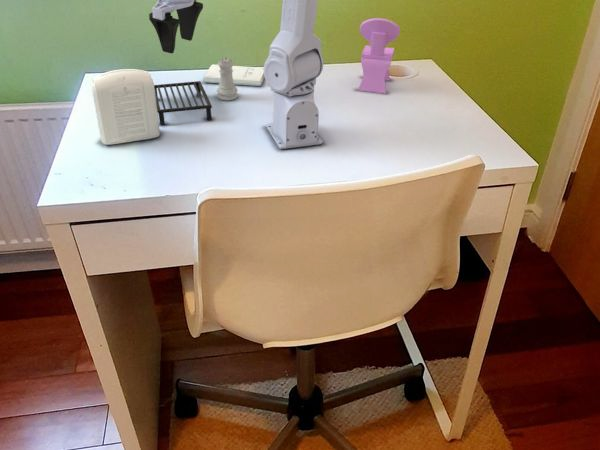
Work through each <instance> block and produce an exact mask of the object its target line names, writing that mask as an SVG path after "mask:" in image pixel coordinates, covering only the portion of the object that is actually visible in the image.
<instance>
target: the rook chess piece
mask: <svg viewBox="0 0 600 450" xmlns="http://www.w3.org/2000/svg"><path fill="white" fill-rule="evenodd" d="M217 65H219V67H220V70H219V72H220V83H218V87H217V88H216V97H217V98H218V99H219V100H221V101H224V102H225V101H229V102H230V101H234V100H236V99H237V98H238V96H239V93H238V87H236V84H234V82H233V77H232V72H233V70H232V66H235V62H234V61H233V59H232V57H227V56H224V57H220V58H219V59H218V62H217Z"/></svg>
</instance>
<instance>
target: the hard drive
mask: <svg viewBox="0 0 600 450" xmlns="http://www.w3.org/2000/svg"><path fill="white" fill-rule="evenodd" d="M219 70H220V67H219V65H218V64H211V65H210V66H209V68H208V70H207V71H206V73H205V74H204V76H203V81H204V83H209V84H210V83H211V84H220V72H219ZM232 70H233V72H232V77H233V82H234V84H235V86H236V85H237V86H251V87H262V84H263V82H264V80H265V77H264V67H256V66H255V67H254V66H241V65H233V66H232Z"/></svg>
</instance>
